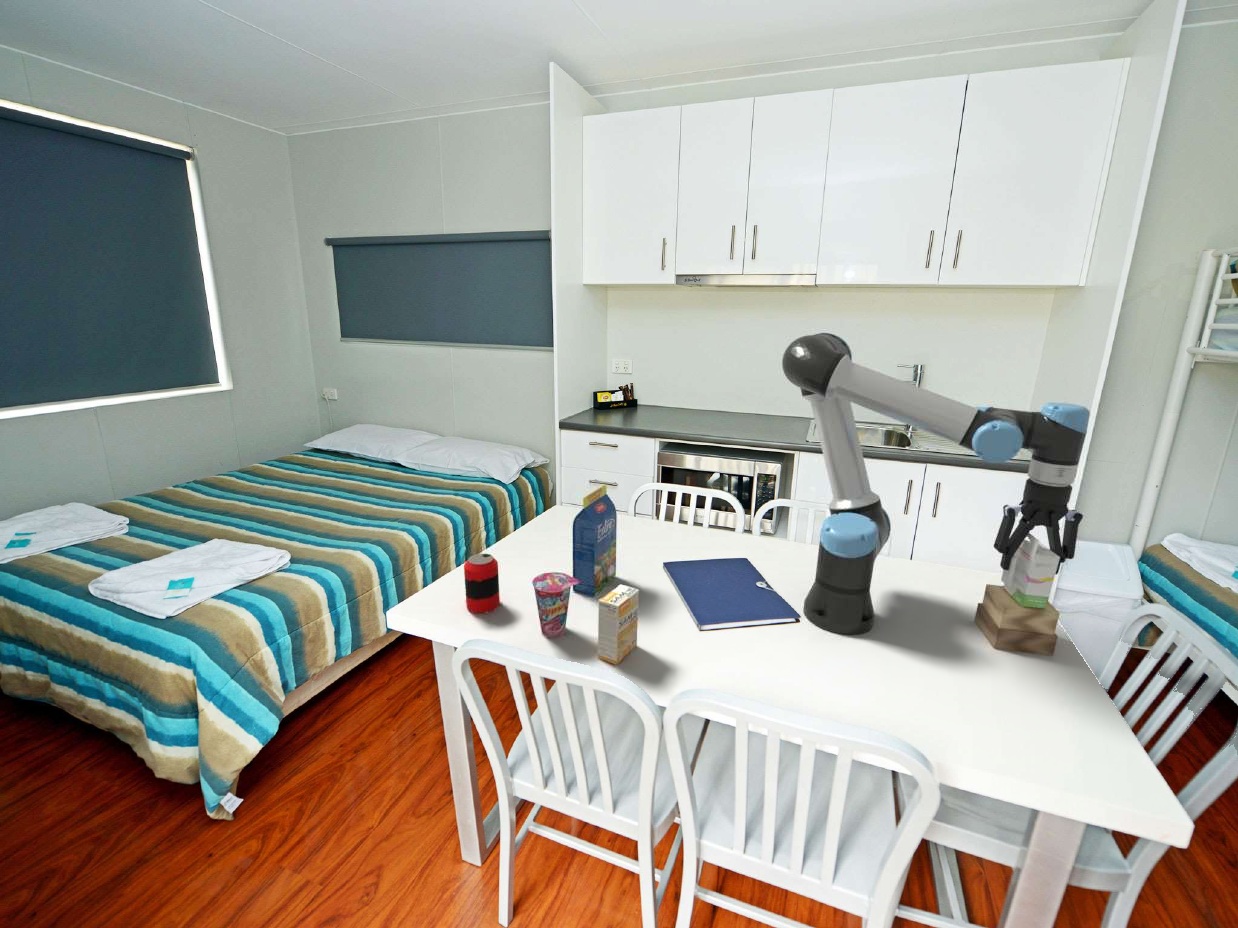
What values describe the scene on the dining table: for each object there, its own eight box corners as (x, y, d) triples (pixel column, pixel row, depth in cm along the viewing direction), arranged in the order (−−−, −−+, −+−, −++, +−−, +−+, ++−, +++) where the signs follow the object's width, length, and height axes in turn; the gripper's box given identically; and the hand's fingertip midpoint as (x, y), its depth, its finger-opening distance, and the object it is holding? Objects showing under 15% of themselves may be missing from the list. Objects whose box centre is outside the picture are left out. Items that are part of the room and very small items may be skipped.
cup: (541, 646, 119) (540, 594, 115) (528, 625, 126) (526, 576, 123) (582, 635, 123) (582, 584, 120) (567, 616, 130) (567, 568, 127)
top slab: (999, 627, 120) (1004, 606, 118) (982, 604, 129) (986, 584, 128) (1054, 634, 117) (1059, 613, 116) (1032, 610, 127) (1037, 589, 125)
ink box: (1047, 609, 117) (1066, 543, 113) (1020, 607, 118) (1038, 541, 114) (1026, 589, 125) (1043, 527, 121) (1001, 586, 126) (1017, 524, 122)
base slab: (993, 650, 121) (998, 629, 119) (973, 622, 131) (978, 602, 130) (1052, 657, 118) (1057, 636, 117) (1027, 628, 129) (1032, 608, 127)
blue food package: (572, 591, 141) (571, 495, 134) (594, 571, 151) (595, 481, 144) (594, 597, 138) (595, 500, 131) (616, 576, 149) (617, 485, 142)
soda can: (506, 601, 136) (504, 555, 132) (486, 617, 129) (483, 568, 126) (480, 594, 139) (477, 549, 135) (459, 609, 132) (456, 562, 129)
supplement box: (617, 666, 113) (618, 606, 109) (597, 657, 115) (597, 599, 112) (638, 645, 120) (640, 589, 116) (618, 638, 122) (619, 582, 118)
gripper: (1003, 483, 113) (981, 588, 119) (1117, 490, 109) (1087, 598, 116) (988, 472, 120) (967, 572, 126) (1093, 479, 116) (1067, 581, 123)
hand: (1025, 584), depth 121 cm, fingers open, 7 cm apart
